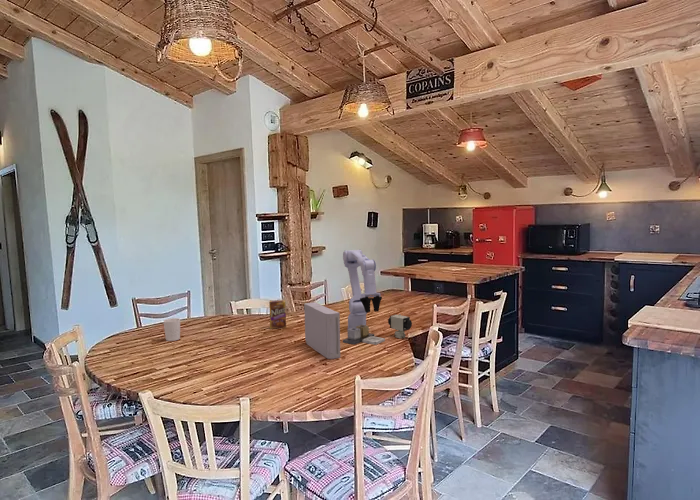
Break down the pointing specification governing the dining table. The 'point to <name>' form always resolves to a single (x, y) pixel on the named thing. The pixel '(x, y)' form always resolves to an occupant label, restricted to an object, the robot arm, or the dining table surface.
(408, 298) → the dining table surface
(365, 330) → the tan rectangular block
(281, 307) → the candy box
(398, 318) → the pneumatic valve
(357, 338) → the grey rectangular block
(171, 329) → the white cup
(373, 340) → the tray
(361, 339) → the rail
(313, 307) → the game console
